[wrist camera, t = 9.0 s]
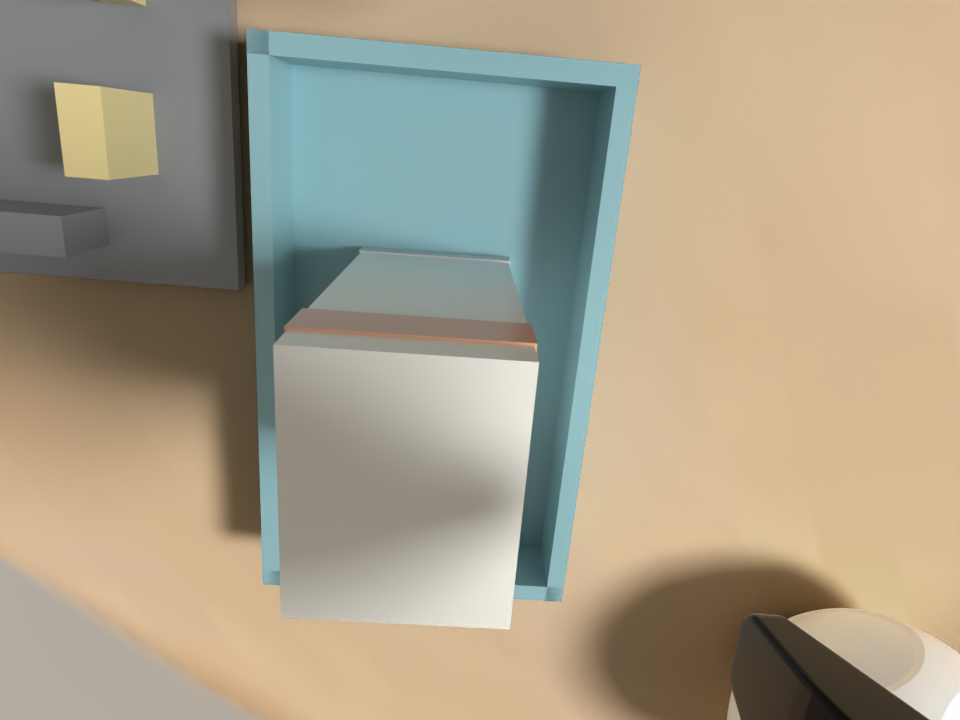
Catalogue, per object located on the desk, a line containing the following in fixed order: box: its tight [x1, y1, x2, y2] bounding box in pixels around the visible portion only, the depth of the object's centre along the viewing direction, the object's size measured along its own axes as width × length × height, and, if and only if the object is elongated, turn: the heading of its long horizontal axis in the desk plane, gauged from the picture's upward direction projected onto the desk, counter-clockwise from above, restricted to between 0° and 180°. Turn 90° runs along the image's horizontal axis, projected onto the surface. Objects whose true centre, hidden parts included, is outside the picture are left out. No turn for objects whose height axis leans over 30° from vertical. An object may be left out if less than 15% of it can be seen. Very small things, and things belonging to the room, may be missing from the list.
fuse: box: [273, 246, 539, 629], centre depth 15 cm, size 4×5×9 cm
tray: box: [246, 29, 641, 602], centre depth 18 cm, size 9×15×2 cm, turn 175°
